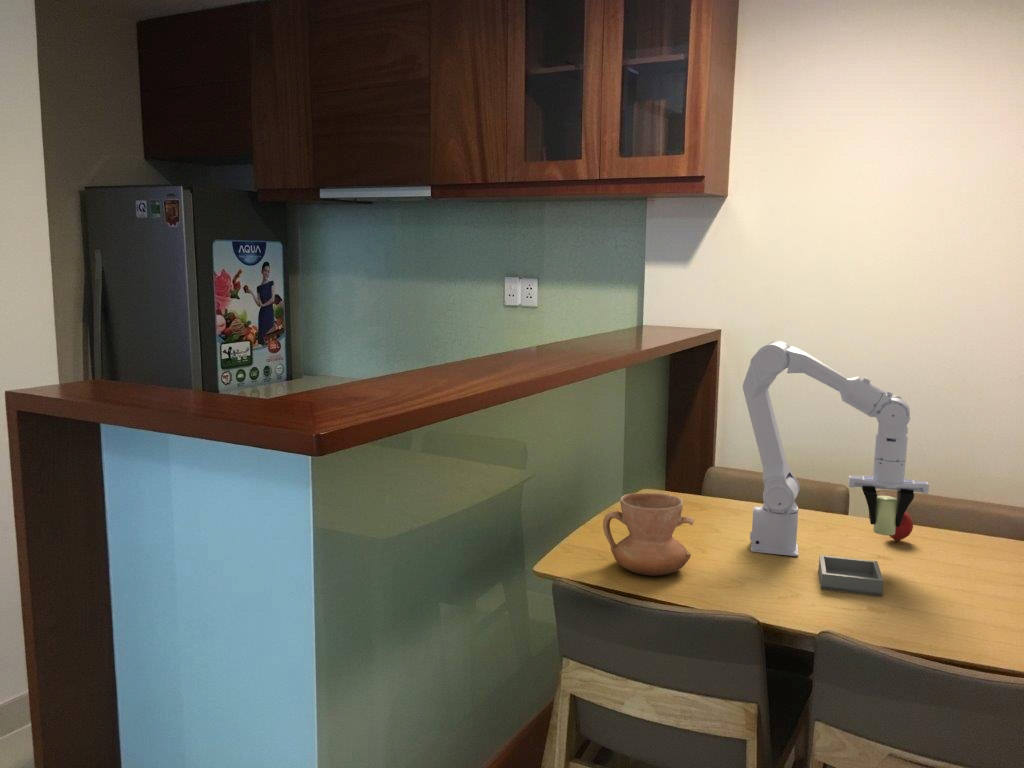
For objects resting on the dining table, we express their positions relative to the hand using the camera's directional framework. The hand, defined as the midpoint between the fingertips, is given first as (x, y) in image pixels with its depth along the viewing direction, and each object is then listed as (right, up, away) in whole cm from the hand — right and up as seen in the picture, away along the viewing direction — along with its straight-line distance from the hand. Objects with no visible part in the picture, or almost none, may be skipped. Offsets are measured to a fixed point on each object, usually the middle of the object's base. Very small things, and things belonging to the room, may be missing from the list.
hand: (884, 524), depth 169 cm
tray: (-10, -10, -8) cm, 16 cm away
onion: (+10, -7, +16) cm, 20 cm away
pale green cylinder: (0, -2, 0) cm, 2 cm away
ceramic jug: (-48, -9, -1) cm, 49 cm away
